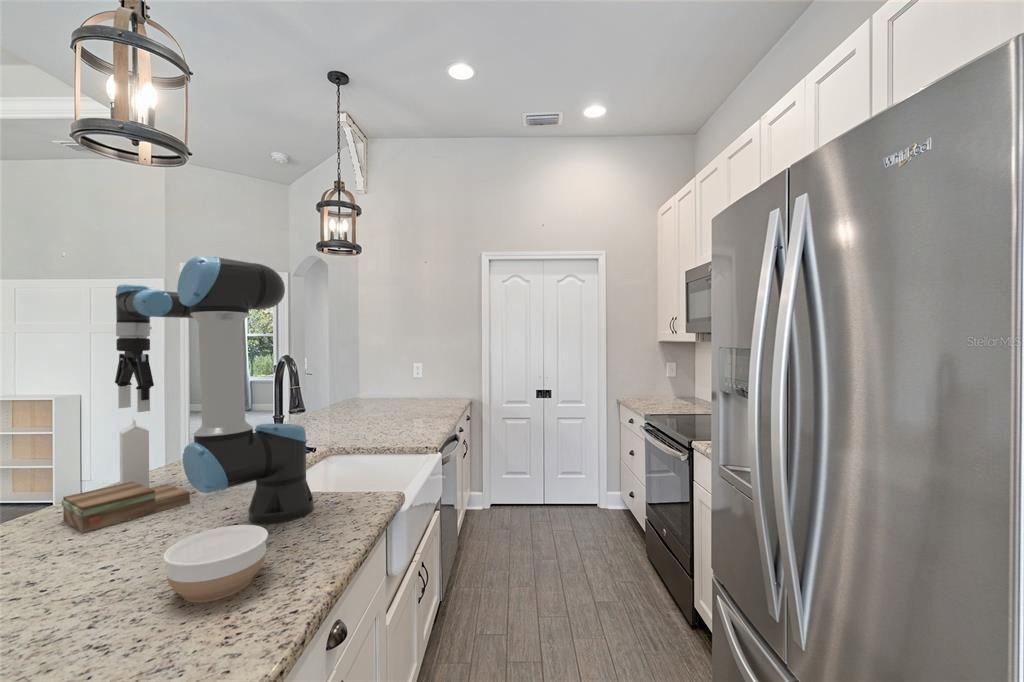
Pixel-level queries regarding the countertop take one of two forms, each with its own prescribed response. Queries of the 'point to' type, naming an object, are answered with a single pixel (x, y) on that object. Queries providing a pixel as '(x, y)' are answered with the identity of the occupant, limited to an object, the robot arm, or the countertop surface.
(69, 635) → the countertop surface
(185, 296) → the robot arm
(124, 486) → the stand
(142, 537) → the countertop surface
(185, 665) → the countertop surface
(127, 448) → the milk
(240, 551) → the bowl
